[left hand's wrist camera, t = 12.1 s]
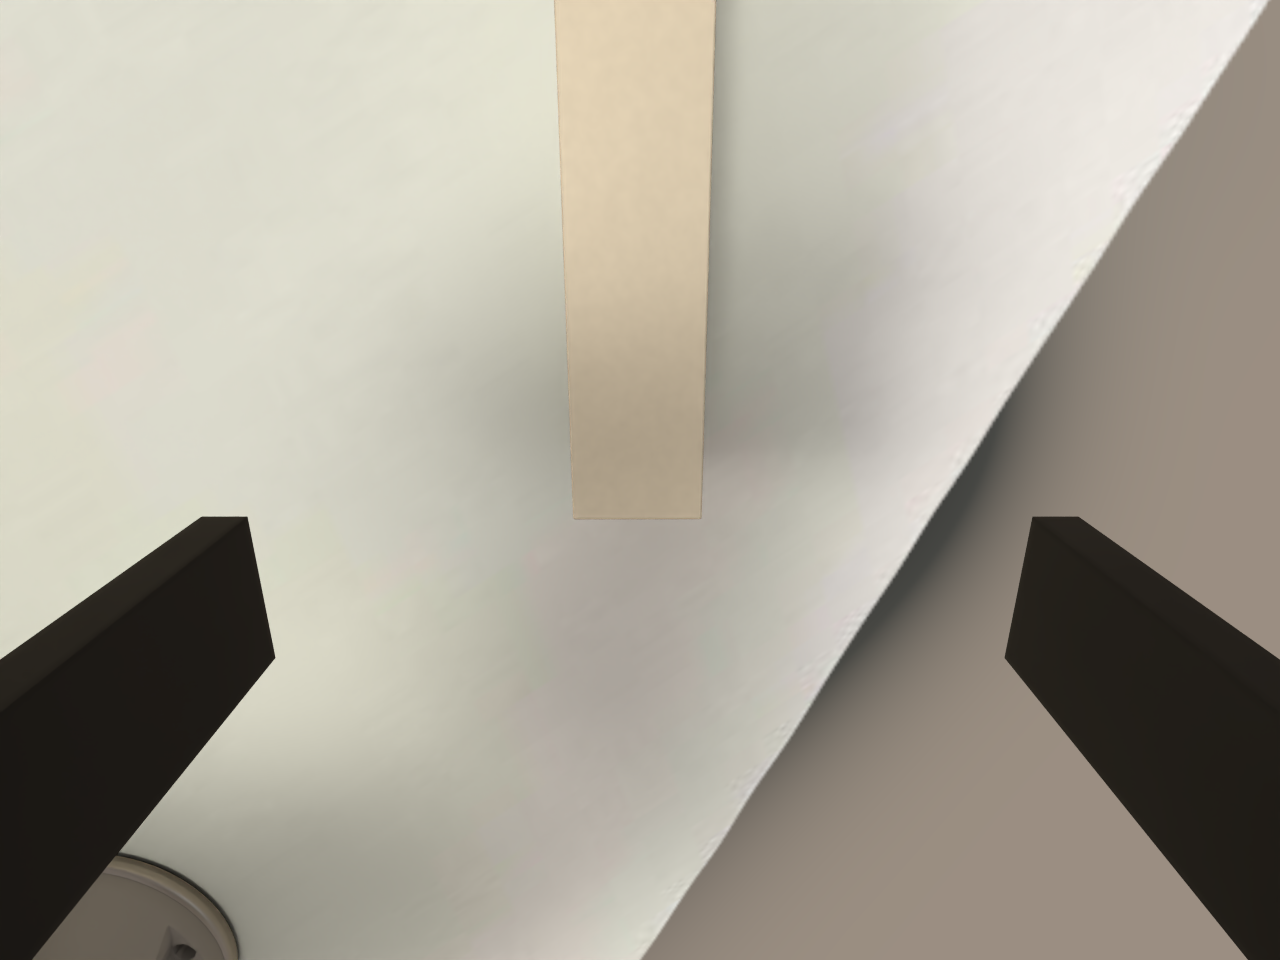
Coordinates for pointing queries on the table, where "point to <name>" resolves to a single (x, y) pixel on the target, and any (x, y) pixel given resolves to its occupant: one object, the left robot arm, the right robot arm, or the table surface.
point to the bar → (636, 249)
